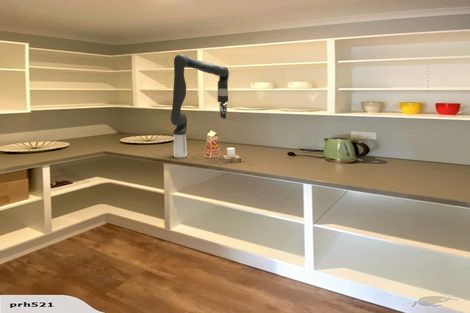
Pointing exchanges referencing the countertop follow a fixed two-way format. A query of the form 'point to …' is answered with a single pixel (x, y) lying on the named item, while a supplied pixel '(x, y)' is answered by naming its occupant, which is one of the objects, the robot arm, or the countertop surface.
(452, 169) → the countertop surface
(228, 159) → the base
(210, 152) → the milk carton
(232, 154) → the cube
